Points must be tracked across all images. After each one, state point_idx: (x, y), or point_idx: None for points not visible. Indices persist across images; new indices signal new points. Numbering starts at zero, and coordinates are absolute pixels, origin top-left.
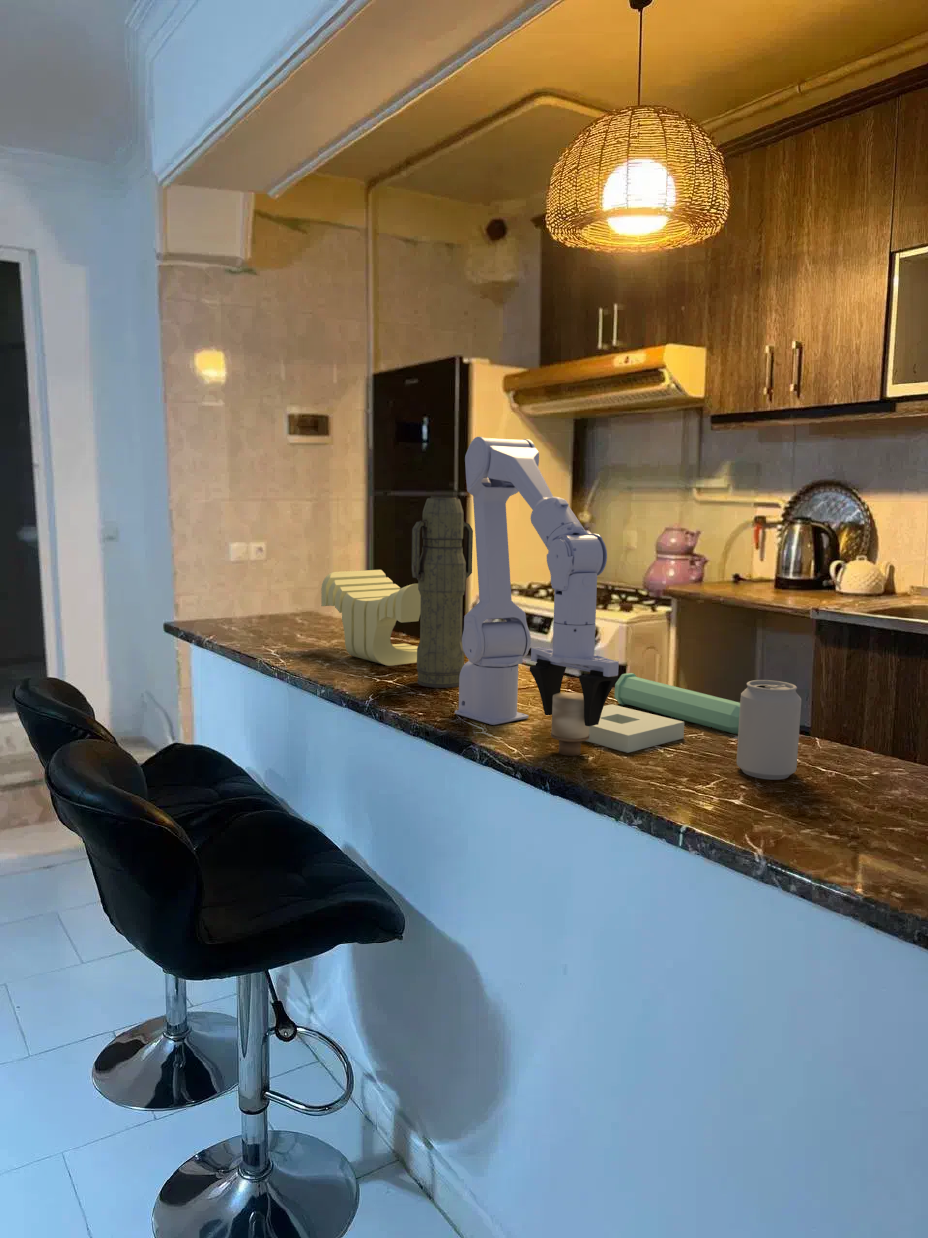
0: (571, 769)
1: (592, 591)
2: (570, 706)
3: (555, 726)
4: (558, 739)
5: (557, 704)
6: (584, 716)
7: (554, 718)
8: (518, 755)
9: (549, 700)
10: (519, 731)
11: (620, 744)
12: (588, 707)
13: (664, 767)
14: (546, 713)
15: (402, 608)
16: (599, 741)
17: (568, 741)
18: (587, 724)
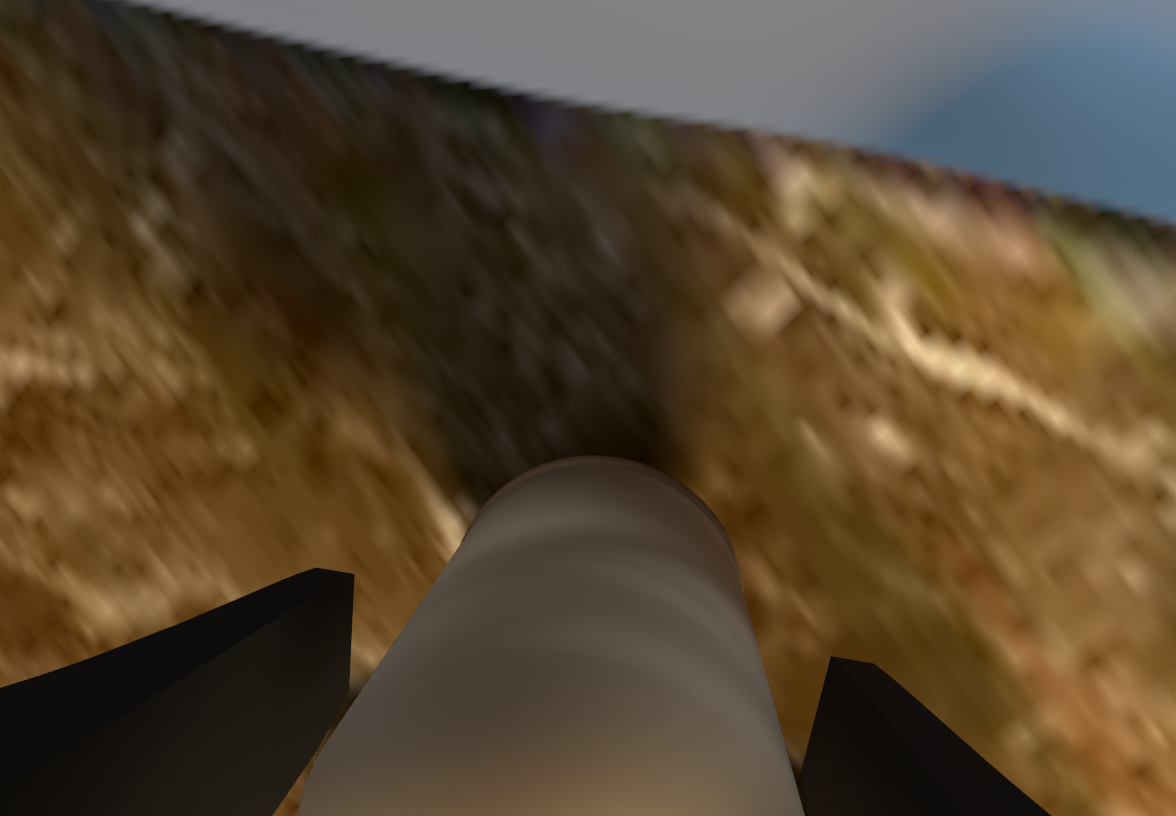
0: (383, 252)
1: None
2: (428, 632)
3: (638, 501)
4: (602, 458)
5: (609, 612)
6: (297, 598)
7: (661, 542)
8: (824, 255)
9: (888, 802)
10: (1154, 732)
11: None
12: (150, 641)
13: (100, 642)
14: (852, 664)
15: None
16: None
17: (523, 472)
18: (316, 574)
